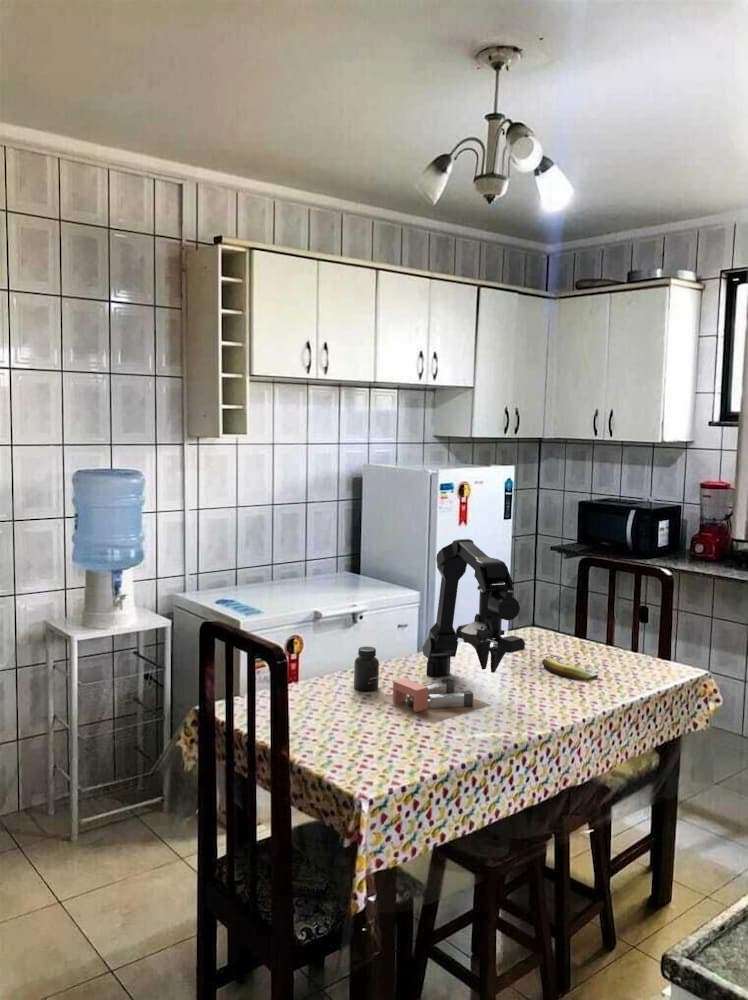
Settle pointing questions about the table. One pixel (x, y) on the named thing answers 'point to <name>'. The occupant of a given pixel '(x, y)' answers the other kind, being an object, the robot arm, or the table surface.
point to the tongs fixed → (436, 689)
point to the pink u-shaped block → (411, 693)
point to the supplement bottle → (366, 670)
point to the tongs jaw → (451, 700)
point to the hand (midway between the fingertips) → (488, 670)
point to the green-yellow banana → (566, 670)
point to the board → (435, 709)
